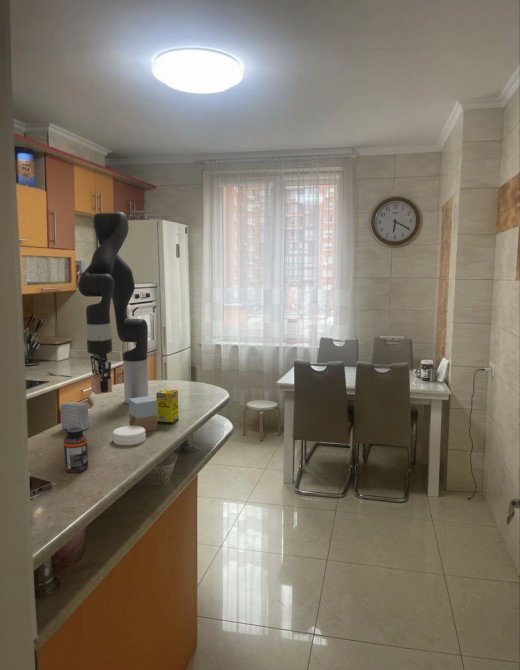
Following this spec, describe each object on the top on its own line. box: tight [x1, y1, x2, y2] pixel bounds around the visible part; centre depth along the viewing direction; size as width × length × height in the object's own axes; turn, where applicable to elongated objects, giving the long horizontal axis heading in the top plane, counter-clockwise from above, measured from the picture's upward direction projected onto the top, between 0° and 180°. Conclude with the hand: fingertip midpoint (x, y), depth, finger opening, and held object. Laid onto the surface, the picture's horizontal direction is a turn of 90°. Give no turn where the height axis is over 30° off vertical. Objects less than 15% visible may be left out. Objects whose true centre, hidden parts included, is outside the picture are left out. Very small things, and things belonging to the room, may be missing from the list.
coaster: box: [112, 425, 147, 447], centre depth 166 cm, size 10×10×4 cm
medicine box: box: [60, 401, 90, 432], centre depth 177 cm, size 8×4×9 cm, turn 71°
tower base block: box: [128, 412, 158, 432], centre depth 178 cm, size 7×7×5 cm
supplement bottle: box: [63, 427, 89, 474], centre depth 143 cm, size 6×6×11 cm
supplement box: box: [155, 388, 179, 425], centre depth 184 cm, size 6×6×11 cm
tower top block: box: [128, 395, 157, 418], centre depth 177 cm, size 7×7×5 cm
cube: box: [90, 374, 113, 395], centre depth 169 cm, size 5×5×5 cm
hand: (101, 389), depth 169 cm, fingers closed on cube, 5 cm apart
